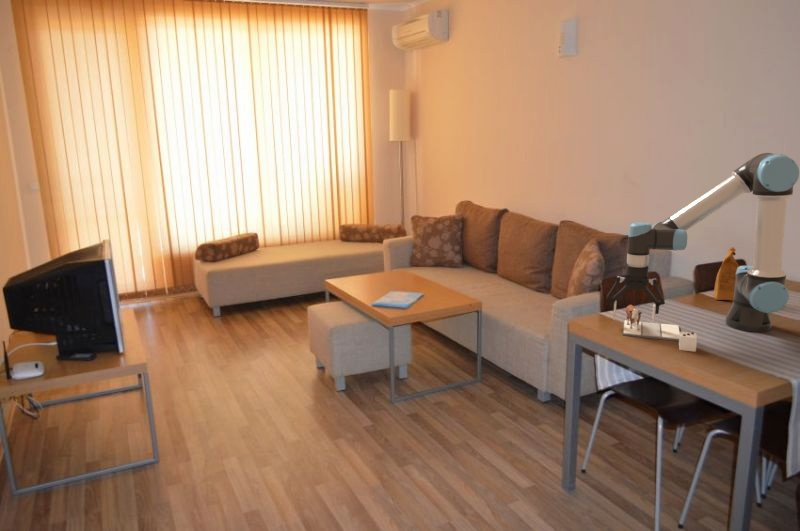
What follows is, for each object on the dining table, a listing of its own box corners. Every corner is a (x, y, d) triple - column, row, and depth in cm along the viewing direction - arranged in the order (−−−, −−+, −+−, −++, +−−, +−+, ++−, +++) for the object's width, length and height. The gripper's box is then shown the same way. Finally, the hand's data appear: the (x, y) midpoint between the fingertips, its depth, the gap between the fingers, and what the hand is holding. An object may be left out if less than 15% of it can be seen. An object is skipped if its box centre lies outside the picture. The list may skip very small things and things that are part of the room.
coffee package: (739, 296, 268) (745, 247, 263) (738, 303, 257) (744, 252, 252) (714, 293, 273) (720, 245, 268) (712, 300, 262) (717, 250, 257)
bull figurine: (629, 332, 221) (630, 311, 219) (624, 321, 234) (625, 300, 232) (641, 333, 220) (643, 311, 219) (636, 321, 233) (637, 301, 231)
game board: (678, 327, 229) (678, 325, 229) (681, 341, 214) (681, 338, 214) (623, 322, 236) (624, 319, 236) (622, 335, 221) (622, 332, 221)
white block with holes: (694, 346, 209) (695, 331, 208) (695, 351, 205) (697, 336, 204) (678, 345, 211) (679, 330, 210) (679, 350, 207) (680, 334, 205)
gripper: (674, 264, 221) (669, 320, 225) (602, 260, 230) (599, 314, 234) (675, 269, 214) (670, 326, 219) (601, 265, 223) (598, 320, 228)
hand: (633, 320), depth 226 cm, fingers open, 13 cm apart
